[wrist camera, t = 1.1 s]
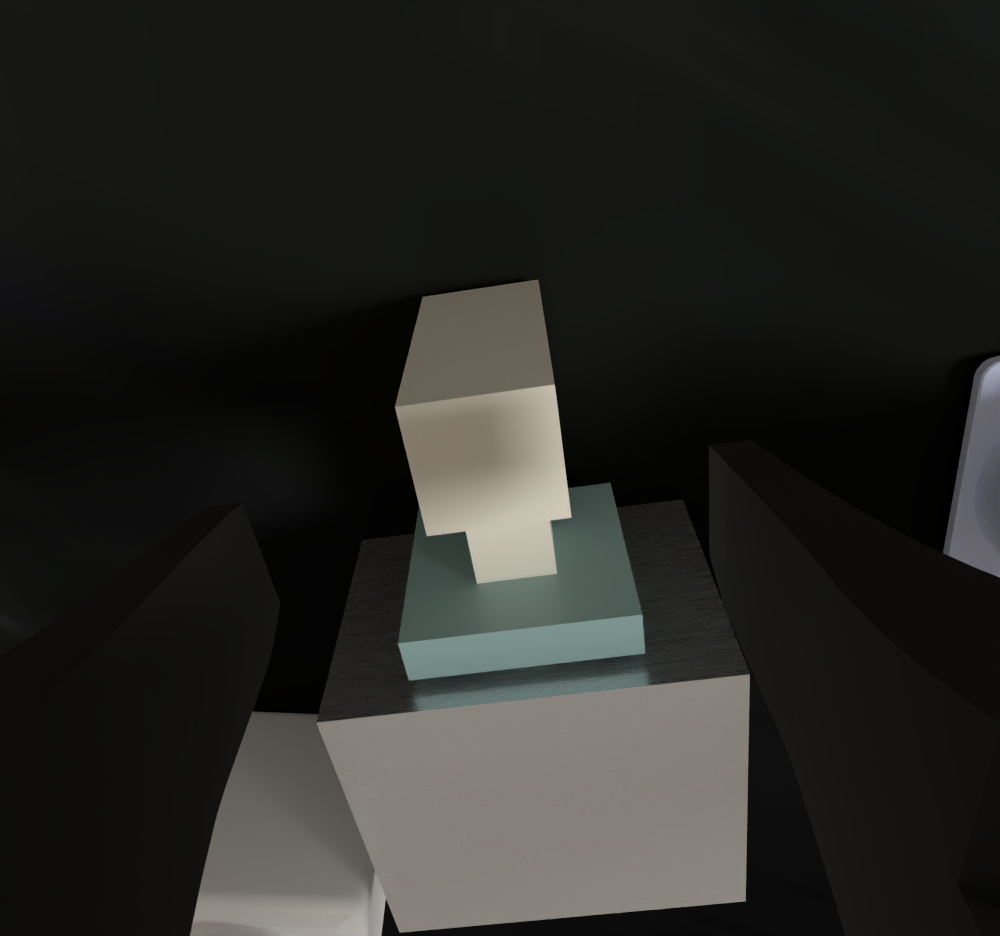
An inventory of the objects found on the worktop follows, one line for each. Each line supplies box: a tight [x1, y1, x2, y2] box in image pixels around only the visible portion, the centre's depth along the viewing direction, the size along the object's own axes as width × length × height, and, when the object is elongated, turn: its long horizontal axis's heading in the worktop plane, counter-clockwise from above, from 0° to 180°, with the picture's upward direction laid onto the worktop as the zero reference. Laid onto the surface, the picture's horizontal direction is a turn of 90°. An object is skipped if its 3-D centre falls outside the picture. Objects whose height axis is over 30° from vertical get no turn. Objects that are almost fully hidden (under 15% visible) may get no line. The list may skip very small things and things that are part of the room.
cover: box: [395, 280, 645, 681], centre depth 20 cm, size 6×14×6 cm, turn 9°
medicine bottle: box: [190, 711, 386, 936], centre depth 25 cm, size 7×7×12 cm
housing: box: [316, 499, 750, 932], centre depth 23 cm, size 10×9×7 cm
